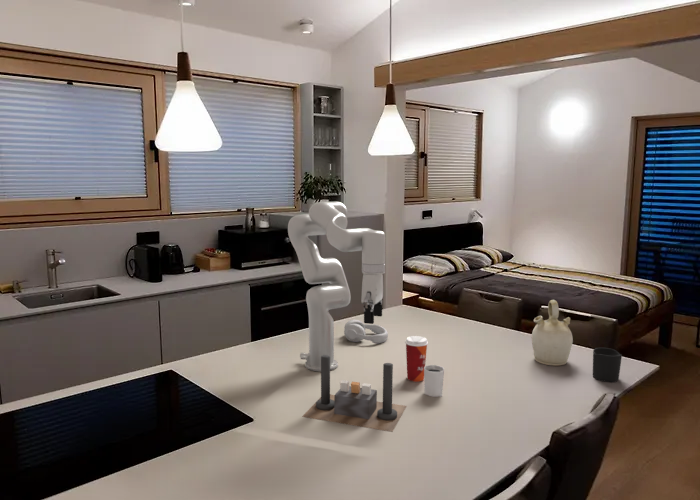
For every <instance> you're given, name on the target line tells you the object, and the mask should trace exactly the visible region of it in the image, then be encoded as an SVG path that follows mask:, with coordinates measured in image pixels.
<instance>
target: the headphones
mask: <svg viewBox="0 0 700 500" xmlns="http://www.w3.org/2000/svg"><path fill="white" fill-rule="evenodd" d="M366 330H369V331H371V332H373V334H371V335H368V334H367V333H366ZM374 333H375V334H374ZM343 334H344V337H345V338H346V339H347V340H348V341H350V342H352V343H359V342H361V341H363V340H365V341H370V342H372V343H373V344H382V343H385V342H386V341H387V340H388V336H389V333H388V330H387V329H386V328H385V327H383V326H381V325H379V324H374V323H373V324H368V323H364V322H362V321H361V320H359V319H350V320H348V321H347V322H346V323H345V325H344V329H343ZM366 334H367V335H366Z"/></svg>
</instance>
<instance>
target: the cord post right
mask: <svg viewBox="0 0 700 500" xmlns="http://www.w3.org/2000/svg"><path fill="white" fill-rule="evenodd" d="M382 367H383V368H382V369H383V372H382V373H383V375H382V402H383V408H382V409H379V410H378V411H377V417H378V418H379V419H381V420H385V421H391V420H395V419H396V418H397V411H396V410H394V409H392V404H393V378H394V377H393V376H394V375H393V373H394V371H393V369H394V364H393V363H391V362H385V363H383V366H382Z"/></svg>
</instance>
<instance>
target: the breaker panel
mask: <svg viewBox="0 0 700 500" xmlns="http://www.w3.org/2000/svg"><path fill="white" fill-rule="evenodd" d="M377 395H378V390H377V389H372V388H371V394H370V395H365V394H362V387H360V392H359V394H358V393H352V392H351V385H349V391H348V392H345V391H341V389H340V388H339V390H337V392H336V393H335V394H332V393H330V399H332V400H334V409H332V410H326V411H324V410H319V409H317V408H316V402H315V403H313V404H312V405H311V406H310V407H309V408H308V410H307V411H306V412H305V413H304V414H303V415H302V417H303V418H307V419H313V420H314V419H315V420H319V421H324V422H331V423H336V424H337V423H338V424H343V425H349V426H355V427H360V428H361V427H362V428H366V429H367V428H368V429H374V430H379V431H385V432H391V433H393V432H394V430H395V428H396V426H397V425H398V422H399V421H400V419H401V418H402V416H403V414H404V412H405V410H406V408H407V407H408V406H407V405H403V404H398V403H397V404H396V403H392V409H394V410H396V411H397V418H396V419H395V420H391V421H385V420H381V419H379V418H378V417H377V411H378V410H379V409H382V408H383V401H378V400H377V397H378V396H377ZM320 399H321V396H320V397H319V399H318V400H320Z"/></svg>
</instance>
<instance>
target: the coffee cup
mask: <svg viewBox="0 0 700 500" xmlns="http://www.w3.org/2000/svg"><path fill="white" fill-rule="evenodd" d="M404 343H405V351H406V353H405V354H406V355H405V357H406V375H407V380H408V381H411V382H413V383H414V382H415V383H416V382H423V381H424V367H425V366H426V361H427V360H426V359H427V349H428V344H429V341H428V339H427V338H426V337H425V336H420V335H410V336H407V338H406V340H405V341H404Z"/></svg>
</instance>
